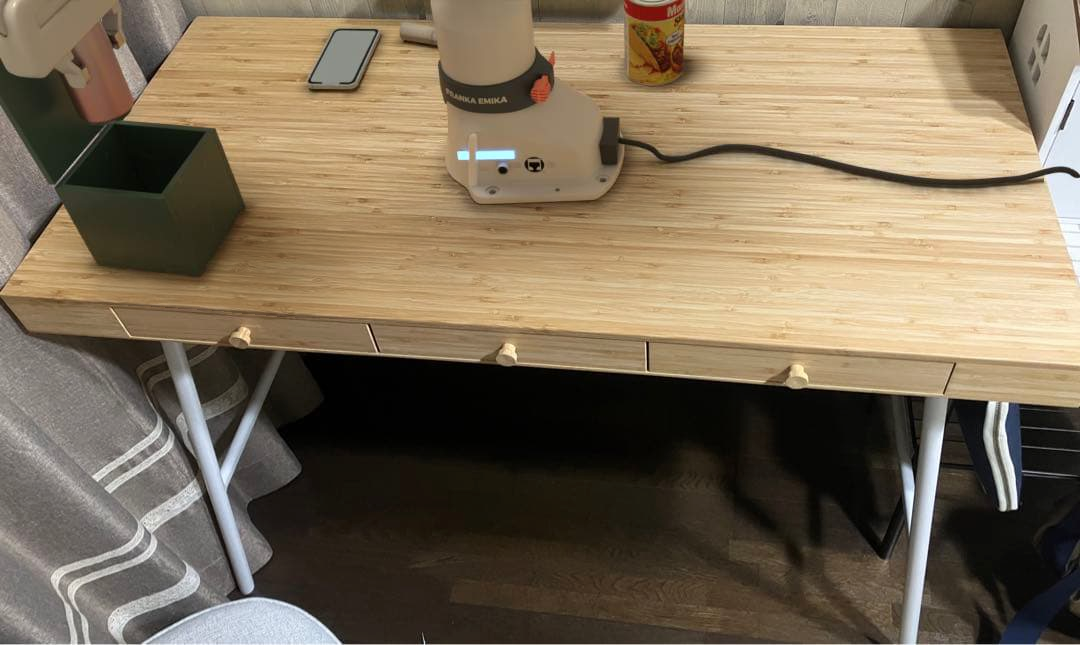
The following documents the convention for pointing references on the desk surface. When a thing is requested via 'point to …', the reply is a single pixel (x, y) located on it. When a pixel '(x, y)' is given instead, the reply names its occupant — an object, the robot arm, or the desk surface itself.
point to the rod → (418, 33)
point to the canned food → (654, 40)
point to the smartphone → (344, 58)
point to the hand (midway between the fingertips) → (100, 64)
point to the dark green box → (153, 197)
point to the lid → (45, 121)
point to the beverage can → (99, 81)
